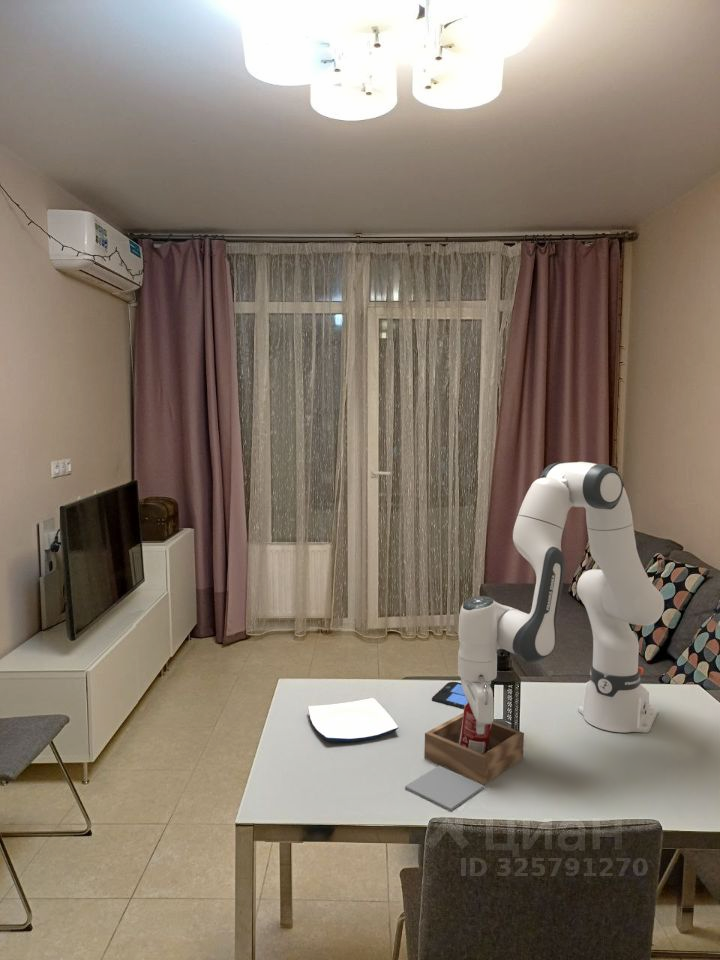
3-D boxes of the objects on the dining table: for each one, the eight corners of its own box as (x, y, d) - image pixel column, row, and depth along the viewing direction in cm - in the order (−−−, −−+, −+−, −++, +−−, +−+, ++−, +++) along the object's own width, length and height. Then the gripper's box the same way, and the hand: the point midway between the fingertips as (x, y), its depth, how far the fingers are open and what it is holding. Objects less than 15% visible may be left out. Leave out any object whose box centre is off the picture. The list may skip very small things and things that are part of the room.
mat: (438, 768, 155) (439, 765, 155) (483, 788, 147) (484, 785, 147) (405, 788, 146) (405, 786, 146) (450, 811, 138) (450, 808, 138)
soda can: (486, 760, 156) (494, 710, 155) (457, 753, 158) (464, 703, 156) (488, 747, 163) (495, 699, 161) (459, 740, 164) (466, 692, 163)
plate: (375, 705, 189) (375, 696, 189) (403, 739, 170) (403, 728, 169) (303, 714, 182) (303, 705, 182) (323, 750, 163) (323, 740, 163)
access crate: (464, 734, 171) (465, 711, 171) (523, 757, 160) (524, 733, 160) (424, 757, 160) (424, 733, 159) (484, 784, 148) (485, 758, 148)
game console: (430, 702, 192) (430, 694, 191) (450, 687, 202) (450, 680, 202) (478, 715, 184) (478, 707, 184) (496, 698, 195) (496, 691, 194)
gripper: (501, 685, 148) (500, 746, 149) (481, 652, 168) (481, 706, 169) (472, 686, 147) (471, 747, 149) (456, 652, 168) (455, 706, 169)
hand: (476, 725), depth 159 cm, fingers closed on soda can, 6 cm apart
